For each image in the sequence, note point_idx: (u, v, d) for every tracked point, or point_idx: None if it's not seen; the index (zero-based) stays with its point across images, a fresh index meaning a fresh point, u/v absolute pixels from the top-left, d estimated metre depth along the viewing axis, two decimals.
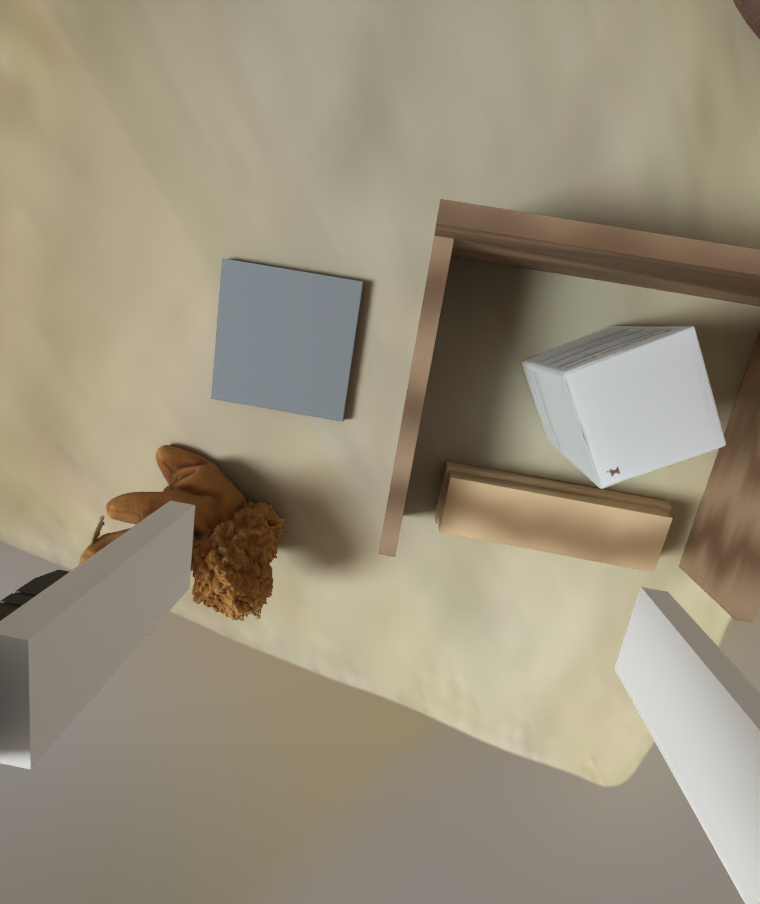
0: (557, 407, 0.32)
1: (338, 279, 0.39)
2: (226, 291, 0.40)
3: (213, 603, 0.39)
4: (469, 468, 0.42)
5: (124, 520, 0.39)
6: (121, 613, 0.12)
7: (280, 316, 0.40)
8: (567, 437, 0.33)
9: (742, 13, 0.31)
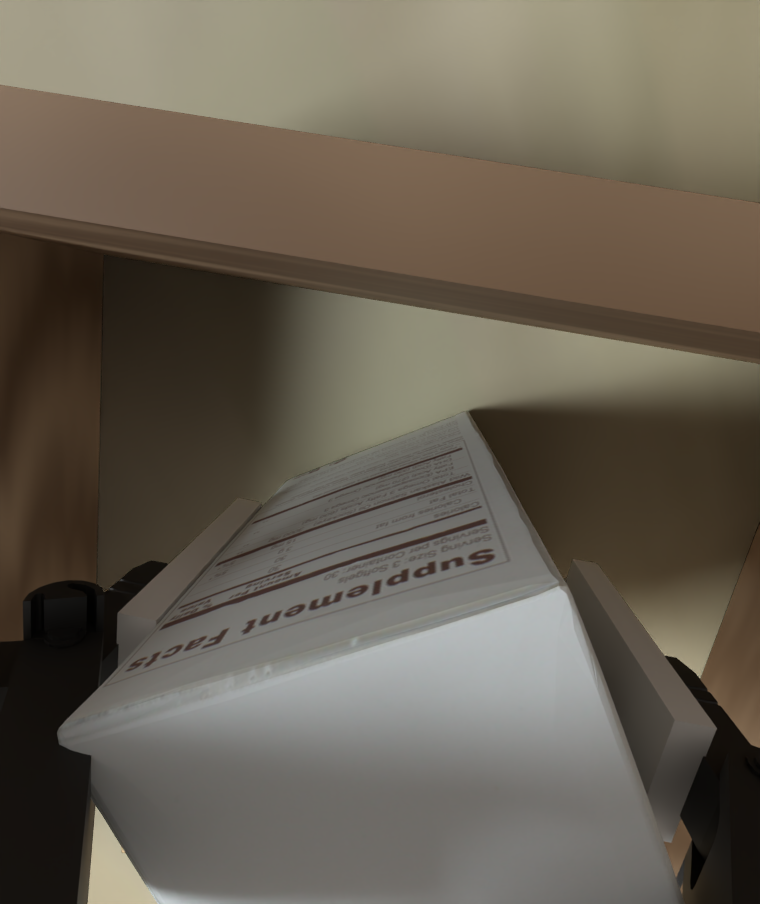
0: None
1: None
2: None
3: None
4: None
5: None
6: None
7: None
8: None
9: None
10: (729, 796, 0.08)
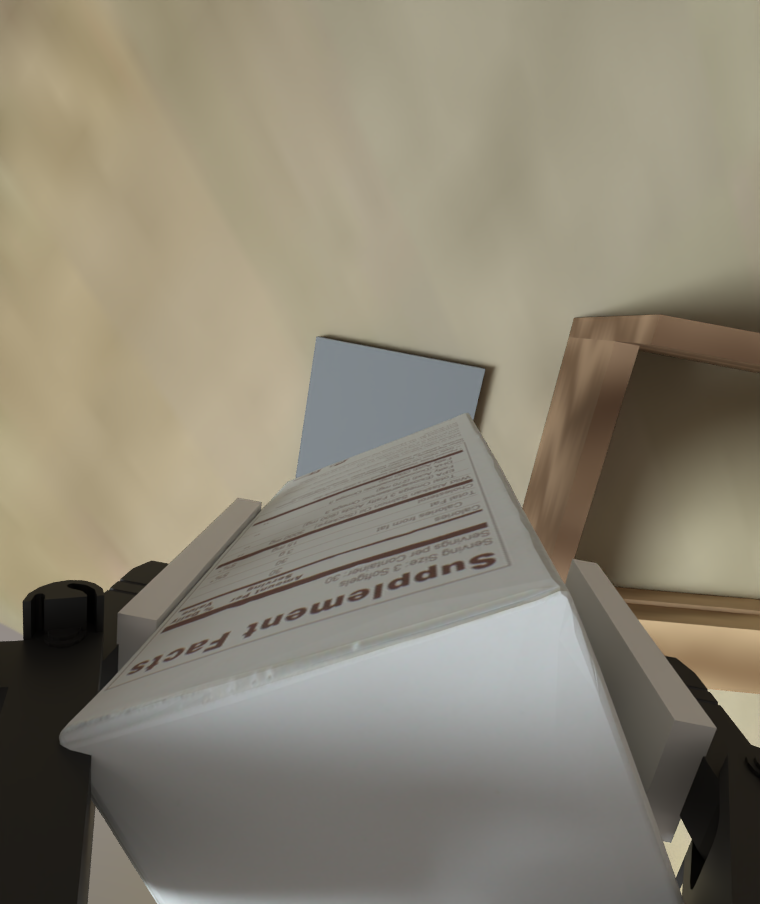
0: None
1: (455, 365, 0.33)
2: (319, 375, 0.34)
3: None
4: None
5: None
6: None
7: (381, 405, 0.34)
8: None
9: None
10: (729, 796, 0.08)
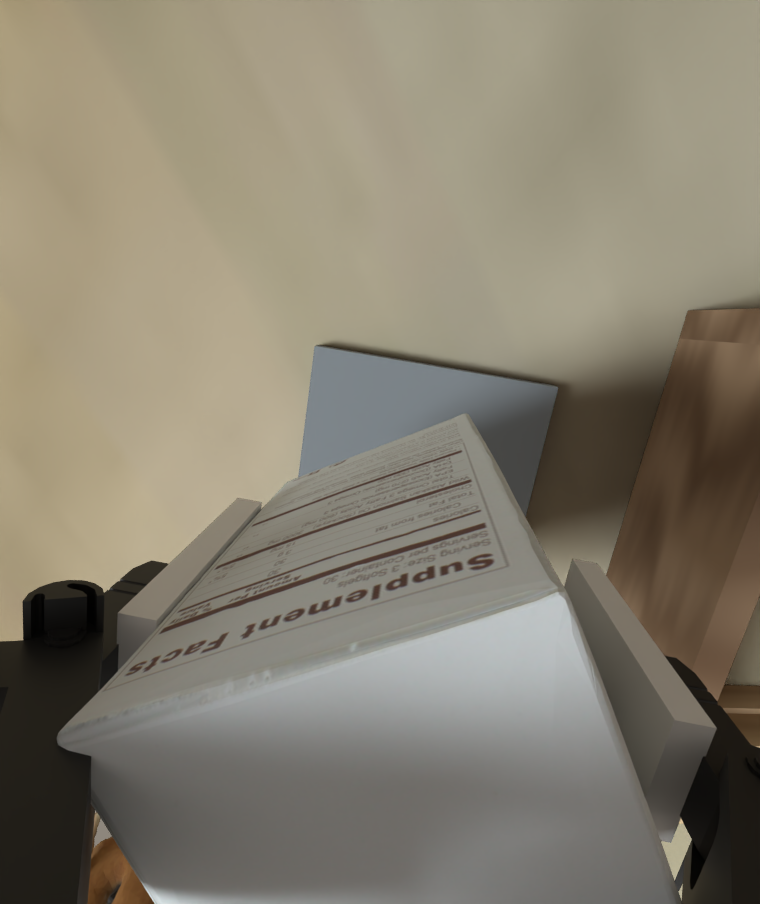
0: None
1: (515, 383, 0.23)
2: (319, 400, 0.24)
3: None
4: None
5: None
6: None
7: None
8: None
9: None
10: (729, 796, 0.08)
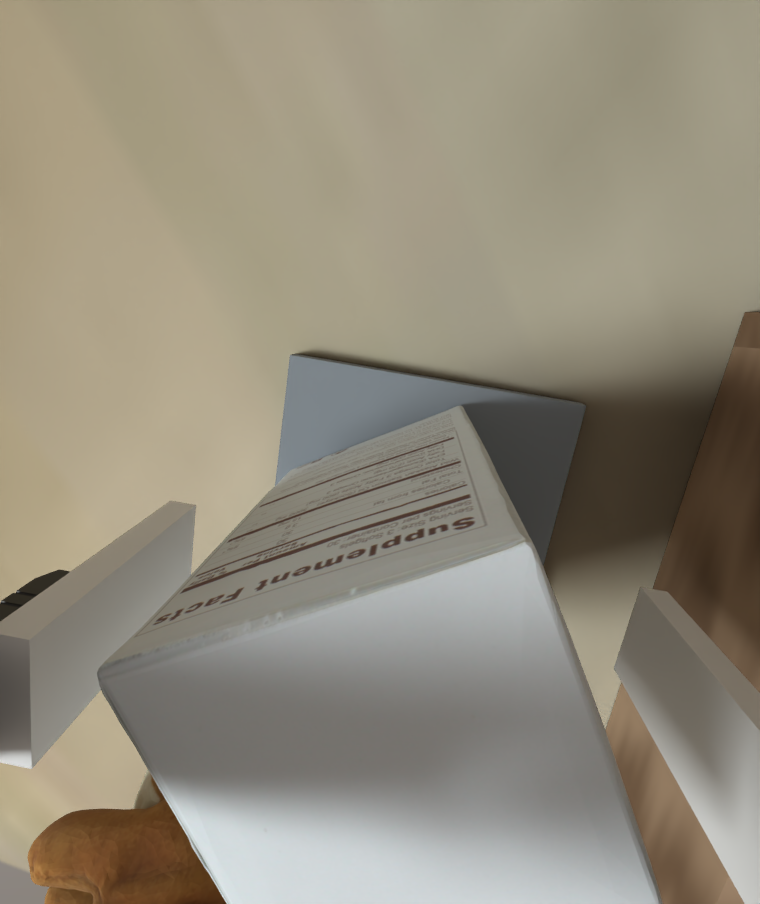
0: None
1: (533, 400, 0.19)
2: (296, 420, 0.20)
3: None
4: None
5: None
6: (122, 613, 0.12)
7: None
8: None
9: None
10: None
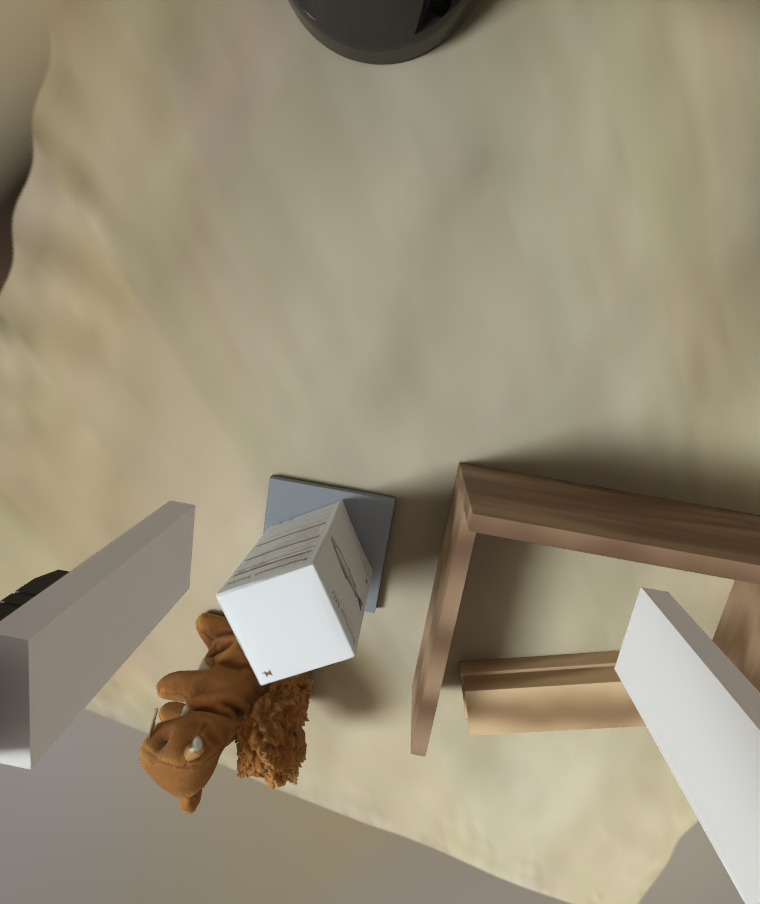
0: None
1: (373, 498, 0.44)
2: (272, 504, 0.45)
3: None
4: (480, 668, 0.47)
5: (173, 700, 0.43)
6: (121, 613, 0.12)
7: None
8: None
9: None
10: None
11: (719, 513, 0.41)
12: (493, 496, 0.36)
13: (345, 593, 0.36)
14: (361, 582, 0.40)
